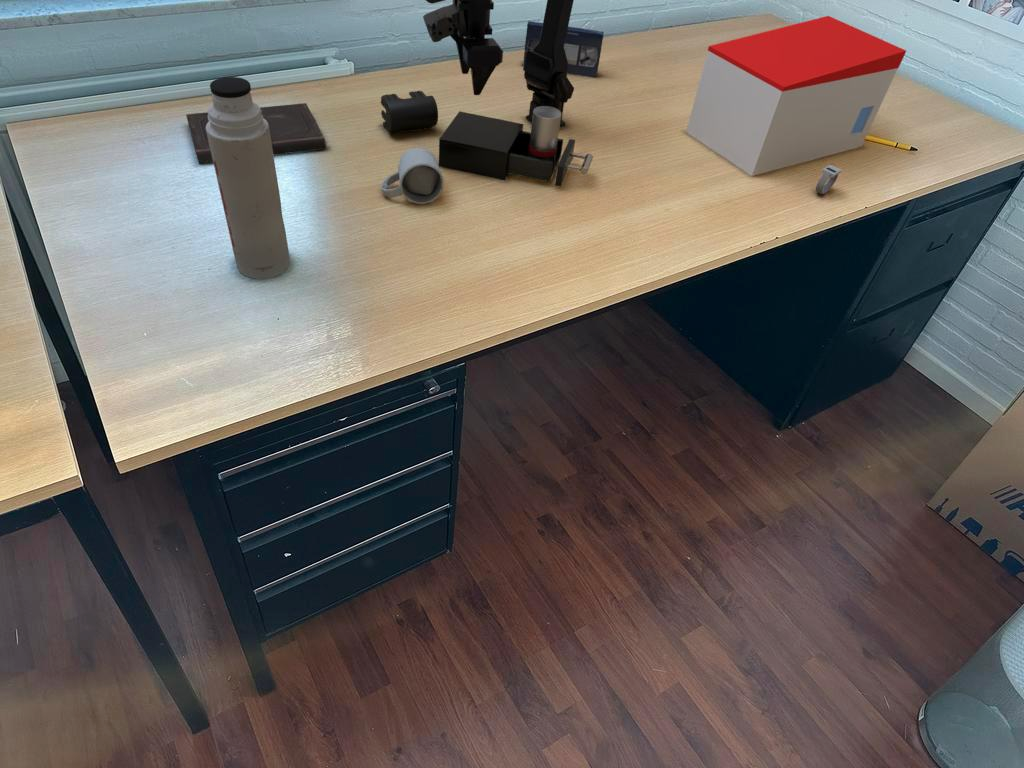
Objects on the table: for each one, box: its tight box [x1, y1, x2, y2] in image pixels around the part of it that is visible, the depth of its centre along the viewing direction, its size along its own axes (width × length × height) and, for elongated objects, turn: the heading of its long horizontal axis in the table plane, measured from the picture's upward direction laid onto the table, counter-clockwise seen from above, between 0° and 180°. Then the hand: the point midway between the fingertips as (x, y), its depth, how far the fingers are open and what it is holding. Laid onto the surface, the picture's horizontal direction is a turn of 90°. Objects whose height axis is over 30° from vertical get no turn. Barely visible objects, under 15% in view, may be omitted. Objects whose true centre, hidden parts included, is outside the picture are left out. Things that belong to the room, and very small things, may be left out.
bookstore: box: [685, 15, 907, 177], centre depth 151 cm, size 21×35×21 cm, turn 121°
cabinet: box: [438, 111, 524, 181], centre depth 138 cm, size 13×13×6 cm
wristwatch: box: [815, 164, 843, 195], centre depth 141 cm, size 6×3×5 cm, turn 135°
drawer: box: [506, 130, 594, 188], centre depth 137 cm, size 16×12×4 cm
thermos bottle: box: [206, 76, 291, 280], centre depth 101 cm, size 8×8×28 cm
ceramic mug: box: [380, 147, 445, 205], centre depth 126 cm, size 11×8×8 cm
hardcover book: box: [185, 102, 327, 164], centre depth 137 cm, size 16×23×2 cm
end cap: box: [380, 90, 439, 135], centre depth 144 cm, size 10×7×7 cm
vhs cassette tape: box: [522, 20, 604, 78], centre depth 172 cm, size 18×3×10 cm, turn 81°
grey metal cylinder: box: [528, 106, 561, 166], centre depth 134 cm, size 5×5×10 cm
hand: (470, 83), depth 132 cm, fingers open, 9 cm apart
